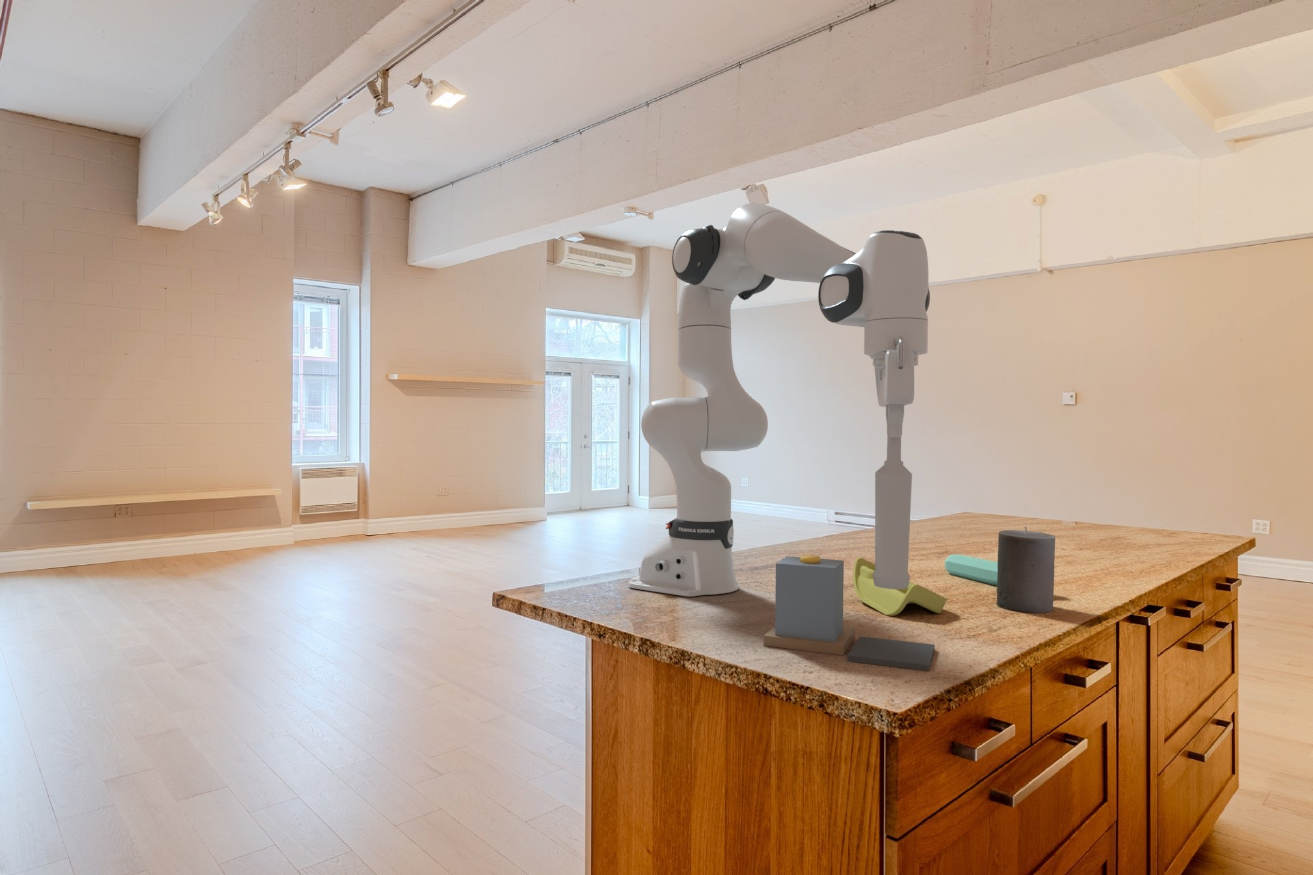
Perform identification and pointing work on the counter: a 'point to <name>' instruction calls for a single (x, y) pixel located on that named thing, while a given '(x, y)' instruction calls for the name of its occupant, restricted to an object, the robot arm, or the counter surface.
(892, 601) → the plastic component
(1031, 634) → the counter surface
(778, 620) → the mounted unit
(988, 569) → the mint green rod
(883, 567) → the bottle
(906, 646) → the pad
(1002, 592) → the pillar candle
